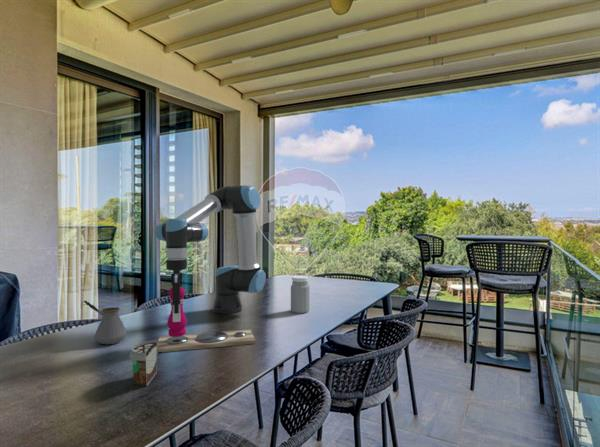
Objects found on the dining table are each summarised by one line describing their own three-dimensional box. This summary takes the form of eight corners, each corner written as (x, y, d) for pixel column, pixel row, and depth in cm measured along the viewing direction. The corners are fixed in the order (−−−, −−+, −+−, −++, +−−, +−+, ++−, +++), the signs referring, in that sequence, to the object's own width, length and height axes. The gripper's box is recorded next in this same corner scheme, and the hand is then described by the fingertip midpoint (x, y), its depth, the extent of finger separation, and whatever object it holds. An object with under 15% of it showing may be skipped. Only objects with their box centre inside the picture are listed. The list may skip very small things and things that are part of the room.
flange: (166, 338, 145) (166, 337, 145) (188, 336, 147) (188, 335, 147) (165, 345, 137) (165, 343, 137) (187, 343, 139) (187, 341, 139)
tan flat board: (159, 340, 147) (159, 336, 147) (250, 332, 157) (250, 329, 157) (155, 353, 133) (155, 348, 133) (255, 343, 143) (255, 339, 143)
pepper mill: (181, 338, 138) (180, 284, 137) (163, 336, 139) (162, 283, 139) (190, 332, 145) (190, 281, 144) (173, 331, 146) (173, 280, 146)
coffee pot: (133, 339, 148) (133, 302, 148) (108, 348, 138) (107, 308, 138) (96, 332, 157) (96, 297, 157) (70, 341, 147) (70, 303, 146)
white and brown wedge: (138, 371, 118) (137, 340, 117) (158, 370, 118) (157, 339, 118) (122, 389, 105) (122, 354, 105) (145, 388, 106) (144, 353, 106)
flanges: (196, 334, 150) (196, 332, 150) (243, 330, 155) (243, 328, 155) (196, 344, 138) (196, 342, 138) (247, 339, 143) (247, 337, 143)
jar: (287, 312, 189) (287, 277, 189) (295, 308, 198) (295, 274, 198) (305, 314, 185) (305, 278, 185) (312, 310, 195) (312, 275, 194)
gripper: (167, 256, 150) (168, 313, 150) (164, 262, 131) (164, 327, 132) (187, 256, 152) (187, 312, 152) (186, 261, 133) (186, 325, 134)
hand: (177, 318), depth 142 cm, fingers closed on pepper mill, 6 cm apart
